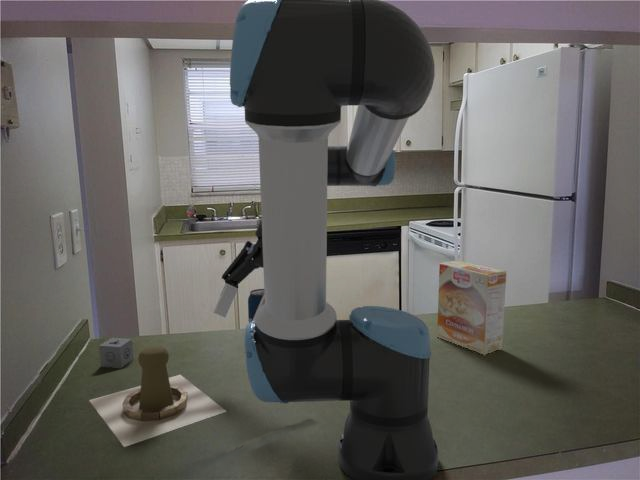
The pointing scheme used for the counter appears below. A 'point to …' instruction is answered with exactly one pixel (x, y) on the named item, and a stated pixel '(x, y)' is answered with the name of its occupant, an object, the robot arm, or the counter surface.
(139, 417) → the collar
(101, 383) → the counter surface
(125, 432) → the board
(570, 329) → the counter surface
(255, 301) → the soda can
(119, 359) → the dice cube
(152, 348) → the cork
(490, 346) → the coffeecake box
